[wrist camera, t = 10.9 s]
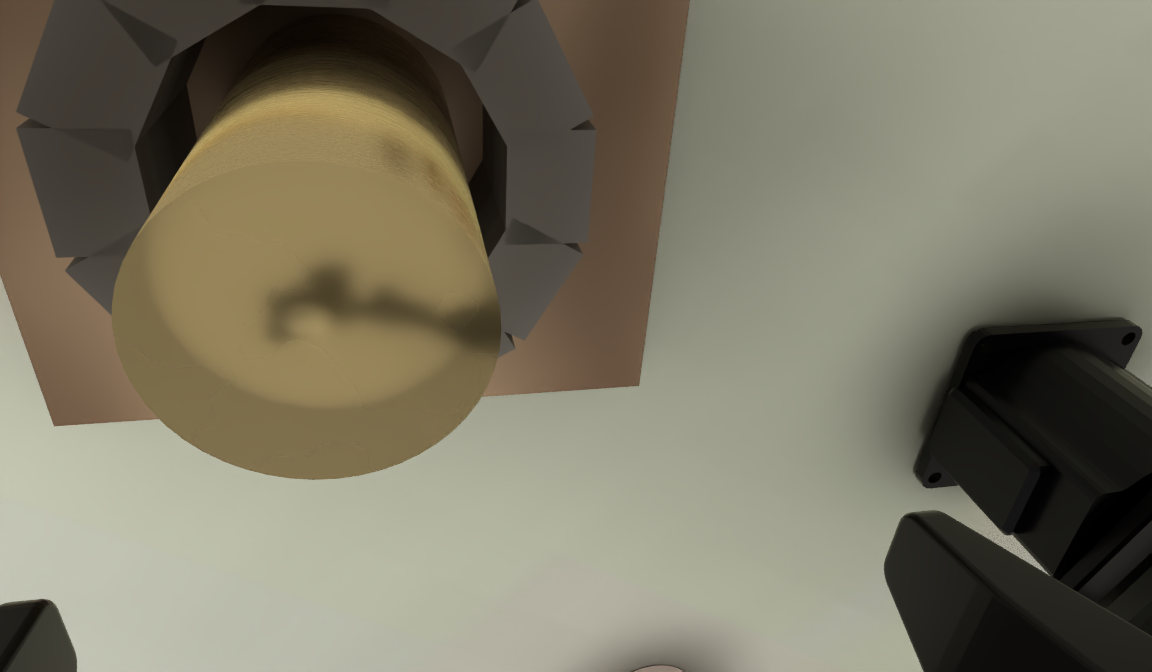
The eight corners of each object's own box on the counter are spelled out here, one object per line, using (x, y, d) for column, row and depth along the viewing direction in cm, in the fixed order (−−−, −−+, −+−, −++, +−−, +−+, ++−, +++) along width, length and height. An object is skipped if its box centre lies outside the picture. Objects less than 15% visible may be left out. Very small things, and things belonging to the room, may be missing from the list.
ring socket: (707, -267, 15) (828, -310, 11) (629, 366, 23) (683, 479, 19) (-195, -373, 12) (-492, -487, 8) (67, 402, 20) (-16, 547, 16)
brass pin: (447, 16, 16) (504, 160, 9) (451, 215, 18) (499, 463, 11) (220, 10, 15) (62, 162, 8) (253, 219, 17) (157, 494, 10)
